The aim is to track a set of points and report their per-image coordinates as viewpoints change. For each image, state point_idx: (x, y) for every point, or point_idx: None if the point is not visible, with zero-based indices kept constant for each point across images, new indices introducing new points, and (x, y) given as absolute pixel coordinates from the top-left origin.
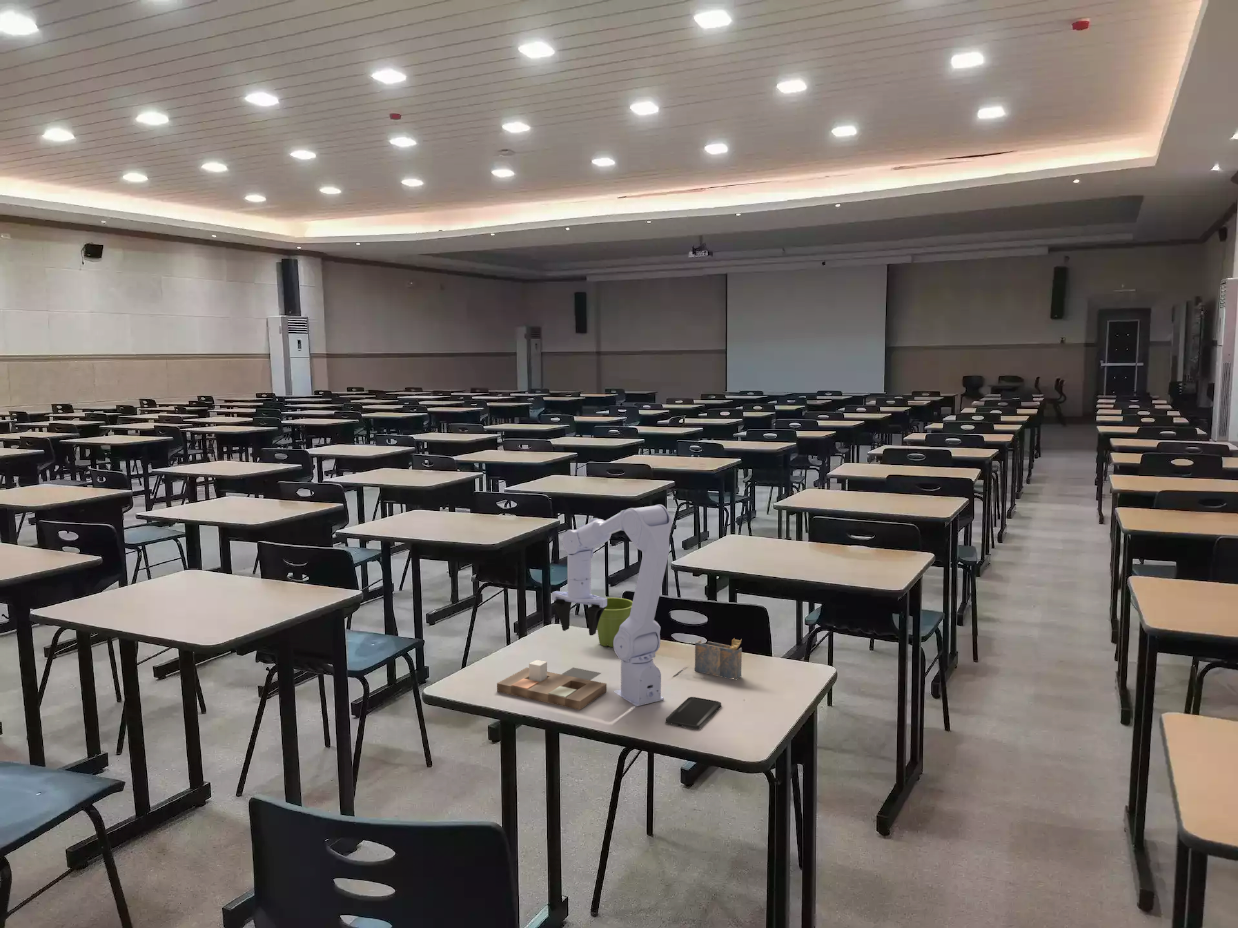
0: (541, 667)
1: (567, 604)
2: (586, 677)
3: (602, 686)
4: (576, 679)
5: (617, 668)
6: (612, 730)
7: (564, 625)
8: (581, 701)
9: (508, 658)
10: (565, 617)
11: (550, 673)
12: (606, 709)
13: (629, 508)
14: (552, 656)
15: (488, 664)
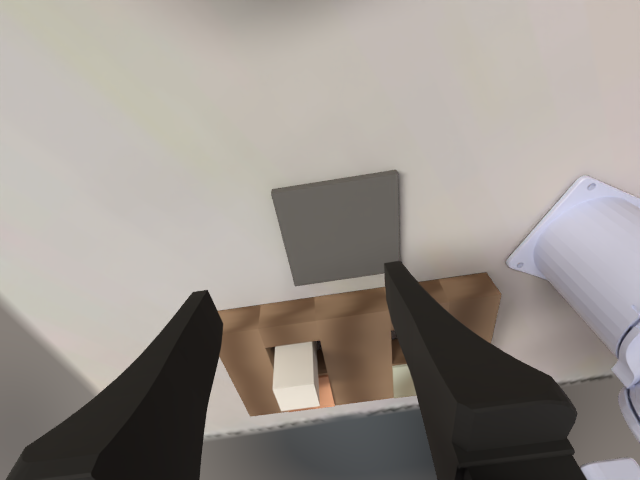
0: (318, 393)
1: (152, 472)
2: (376, 234)
3: (497, 311)
4: None
5: (415, 57)
6: (566, 376)
7: (217, 352)
8: None
9: (2, 243)
10: (197, 385)
11: (305, 328)
12: (522, 328)
13: None
14: (74, 121)
15: (34, 309)
